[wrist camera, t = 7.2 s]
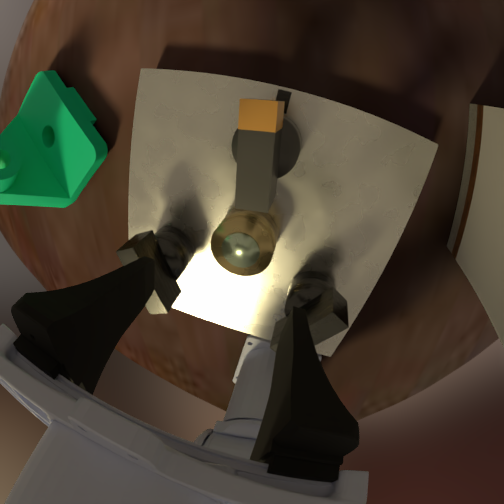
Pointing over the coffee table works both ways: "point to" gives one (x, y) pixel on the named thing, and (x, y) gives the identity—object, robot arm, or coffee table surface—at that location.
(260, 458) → the robot arm
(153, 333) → the coffee table surface
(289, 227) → the base
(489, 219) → the white dispenser tower
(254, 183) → the tan-ended square prism
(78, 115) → the camera mount
